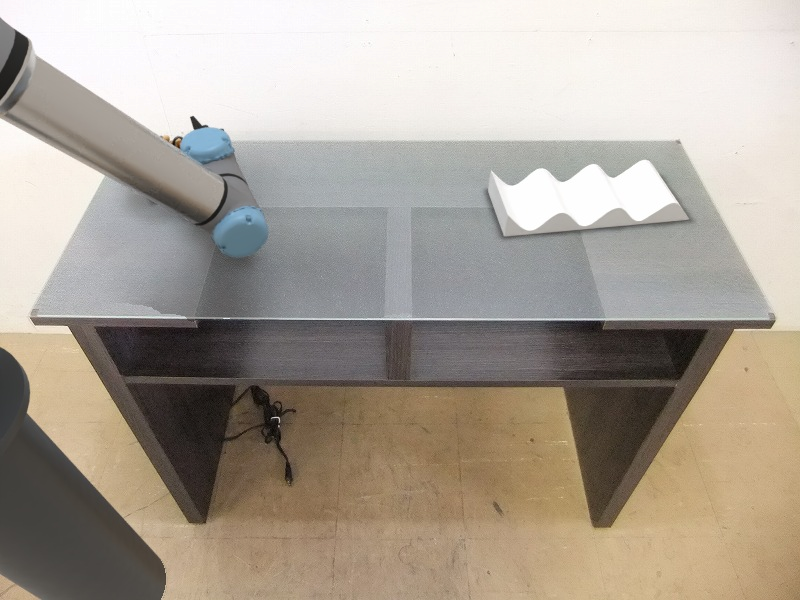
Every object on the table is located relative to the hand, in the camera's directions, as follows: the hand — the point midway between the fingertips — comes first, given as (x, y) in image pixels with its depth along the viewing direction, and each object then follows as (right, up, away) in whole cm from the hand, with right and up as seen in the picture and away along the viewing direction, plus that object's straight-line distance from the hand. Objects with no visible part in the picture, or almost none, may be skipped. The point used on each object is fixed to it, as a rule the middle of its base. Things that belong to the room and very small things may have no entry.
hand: (160, 133), depth 117 cm
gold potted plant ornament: (+2, -7, +4) cm, 8 cm away
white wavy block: (+82, -15, -3) cm, 84 cm away
